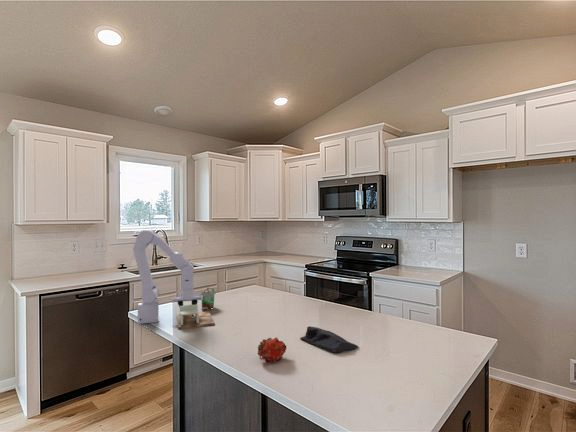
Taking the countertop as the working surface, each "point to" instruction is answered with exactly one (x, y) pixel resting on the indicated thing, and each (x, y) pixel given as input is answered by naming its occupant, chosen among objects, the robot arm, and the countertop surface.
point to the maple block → (187, 316)
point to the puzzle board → (204, 320)
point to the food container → (208, 298)
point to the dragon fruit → (271, 349)
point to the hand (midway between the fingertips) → (187, 315)
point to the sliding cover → (189, 312)
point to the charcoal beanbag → (327, 340)
